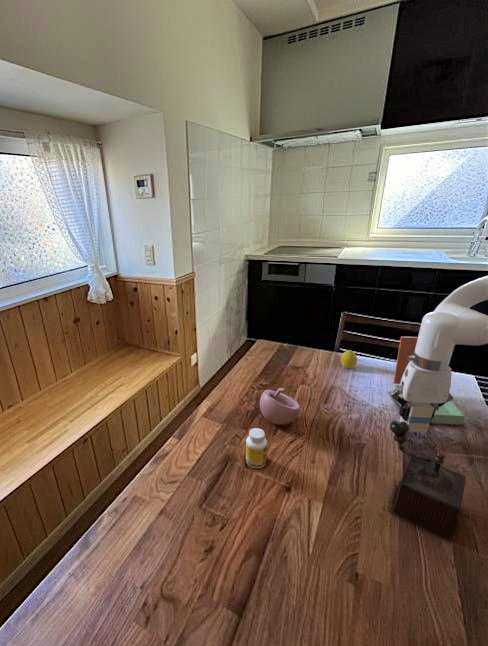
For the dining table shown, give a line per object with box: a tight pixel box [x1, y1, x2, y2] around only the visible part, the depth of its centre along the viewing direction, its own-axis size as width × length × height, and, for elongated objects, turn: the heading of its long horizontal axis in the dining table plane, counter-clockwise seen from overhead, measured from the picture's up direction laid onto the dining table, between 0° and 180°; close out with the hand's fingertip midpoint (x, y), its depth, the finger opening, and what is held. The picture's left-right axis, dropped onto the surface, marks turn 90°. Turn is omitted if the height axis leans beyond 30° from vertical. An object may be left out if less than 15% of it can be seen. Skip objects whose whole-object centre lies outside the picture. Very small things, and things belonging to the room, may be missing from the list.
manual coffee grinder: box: [389, 419, 466, 540], centre depth 73 cm, size 16×11×18 cm
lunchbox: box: [391, 384, 466, 426], centre depth 105 cm, size 16×14×4 cm
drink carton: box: [399, 402, 434, 433], centre depth 92 cm, size 5×5×8 cm
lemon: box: [340, 349, 358, 370], centre depth 129 cm, size 6×6×8 cm
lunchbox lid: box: [392, 336, 418, 385], centre depth 108 cm, size 16×14×1 cm
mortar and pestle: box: [259, 387, 301, 426], centre depth 103 cm, size 12×12×11 cm
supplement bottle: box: [245, 427, 268, 469], centre depth 89 cm, size 5×5×10 cm
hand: (415, 417), depth 92 cm, fingers closed on drink carton, 5 cm apart
